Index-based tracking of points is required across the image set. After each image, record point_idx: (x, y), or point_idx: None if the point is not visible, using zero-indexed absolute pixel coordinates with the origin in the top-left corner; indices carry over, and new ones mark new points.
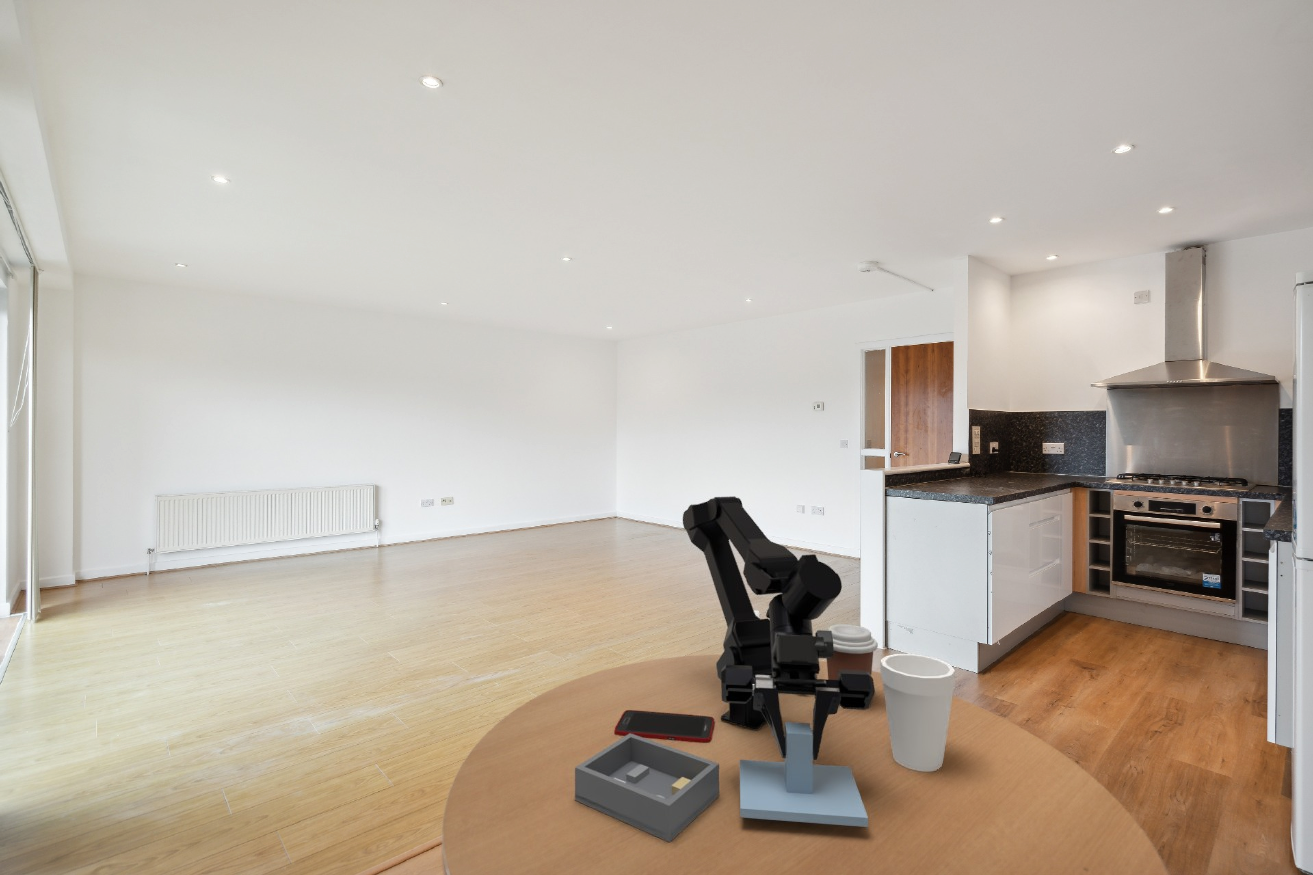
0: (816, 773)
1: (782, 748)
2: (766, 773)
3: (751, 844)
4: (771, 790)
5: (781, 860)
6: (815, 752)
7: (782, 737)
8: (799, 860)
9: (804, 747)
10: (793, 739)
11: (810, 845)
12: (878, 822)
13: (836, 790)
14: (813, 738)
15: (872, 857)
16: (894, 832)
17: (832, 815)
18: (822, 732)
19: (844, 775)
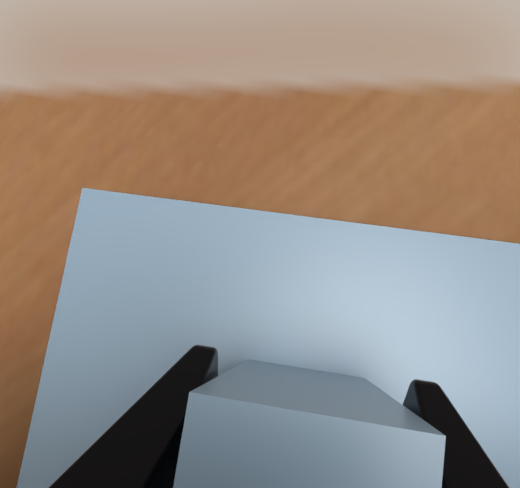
0: None
1: (446, 407)
2: None
3: (515, 181)
4: None
5: (423, 106)
6: (201, 358)
7: (460, 475)
8: (365, 106)
9: (274, 389)
10: (367, 415)
11: (312, 176)
12: (40, 297)
13: (134, 385)
14: (176, 452)
15: (136, 122)
16: (13, 241)
17: (212, 206)
18: (76, 462)
19: None
